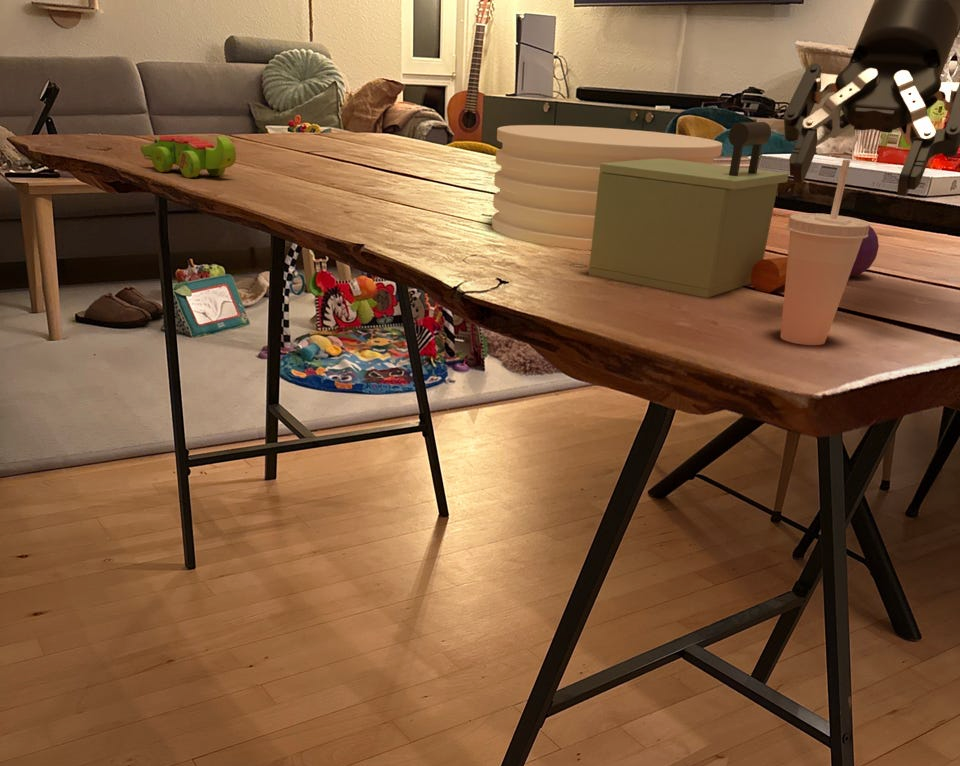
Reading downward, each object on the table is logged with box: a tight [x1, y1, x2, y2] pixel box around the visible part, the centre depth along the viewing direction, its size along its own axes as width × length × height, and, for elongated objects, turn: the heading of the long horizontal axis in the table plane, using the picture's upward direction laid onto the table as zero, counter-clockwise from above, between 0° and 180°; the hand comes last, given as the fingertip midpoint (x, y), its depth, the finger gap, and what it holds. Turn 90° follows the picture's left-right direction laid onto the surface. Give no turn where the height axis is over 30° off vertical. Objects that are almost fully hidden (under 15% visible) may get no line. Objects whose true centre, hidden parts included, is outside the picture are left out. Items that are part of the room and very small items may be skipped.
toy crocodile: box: [140, 135, 237, 179], centre depth 154 cm, size 20×7×6 cm, turn 50°
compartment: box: [588, 172, 779, 299], centre depth 100 cm, size 14×13×10 cm
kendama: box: [751, 226, 880, 294], centre depth 104 cm, size 6×6×20 cm
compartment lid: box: [600, 121, 790, 190], centre depth 96 cm, size 15×13×5 cm
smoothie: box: [780, 159, 871, 346], centre depth 79 cm, size 6×6×14 cm
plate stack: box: [491, 124, 723, 251], centre depth 123 cm, size 28×28×12 cm
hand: (848, 182), depth 80 cm, fingers open, 8 cm apart
